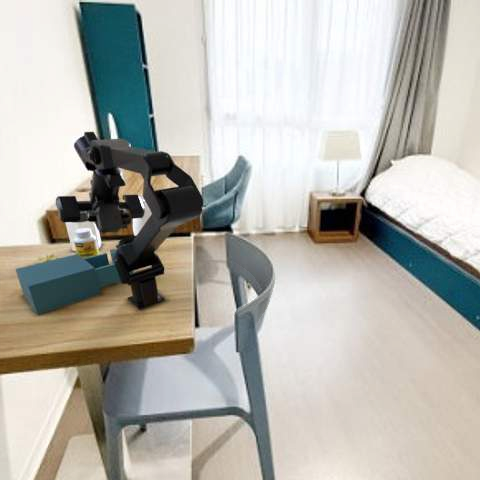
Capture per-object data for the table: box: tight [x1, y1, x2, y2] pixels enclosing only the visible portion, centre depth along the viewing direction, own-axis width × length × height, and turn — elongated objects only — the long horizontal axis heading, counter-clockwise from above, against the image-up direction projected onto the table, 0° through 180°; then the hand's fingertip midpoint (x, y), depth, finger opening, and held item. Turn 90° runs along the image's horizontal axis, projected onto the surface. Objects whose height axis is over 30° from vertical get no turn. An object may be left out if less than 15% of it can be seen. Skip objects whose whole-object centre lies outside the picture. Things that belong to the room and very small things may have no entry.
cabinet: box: [15, 253, 101, 316], centre depth 86 cm, size 14×12×7 cm
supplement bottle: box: [74, 228, 100, 259], centre depth 102 cm, size 6×6×10 cm
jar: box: [64, 211, 102, 252], centre depth 113 cm, size 9×8×12 cm
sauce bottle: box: [132, 191, 152, 236], centre depth 112 cm, size 8×8×18 cm
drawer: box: [84, 248, 134, 289], centre depth 94 cm, size 17×10×5 cm, turn 134°
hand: (99, 228), depth 94 cm, fingers closed
